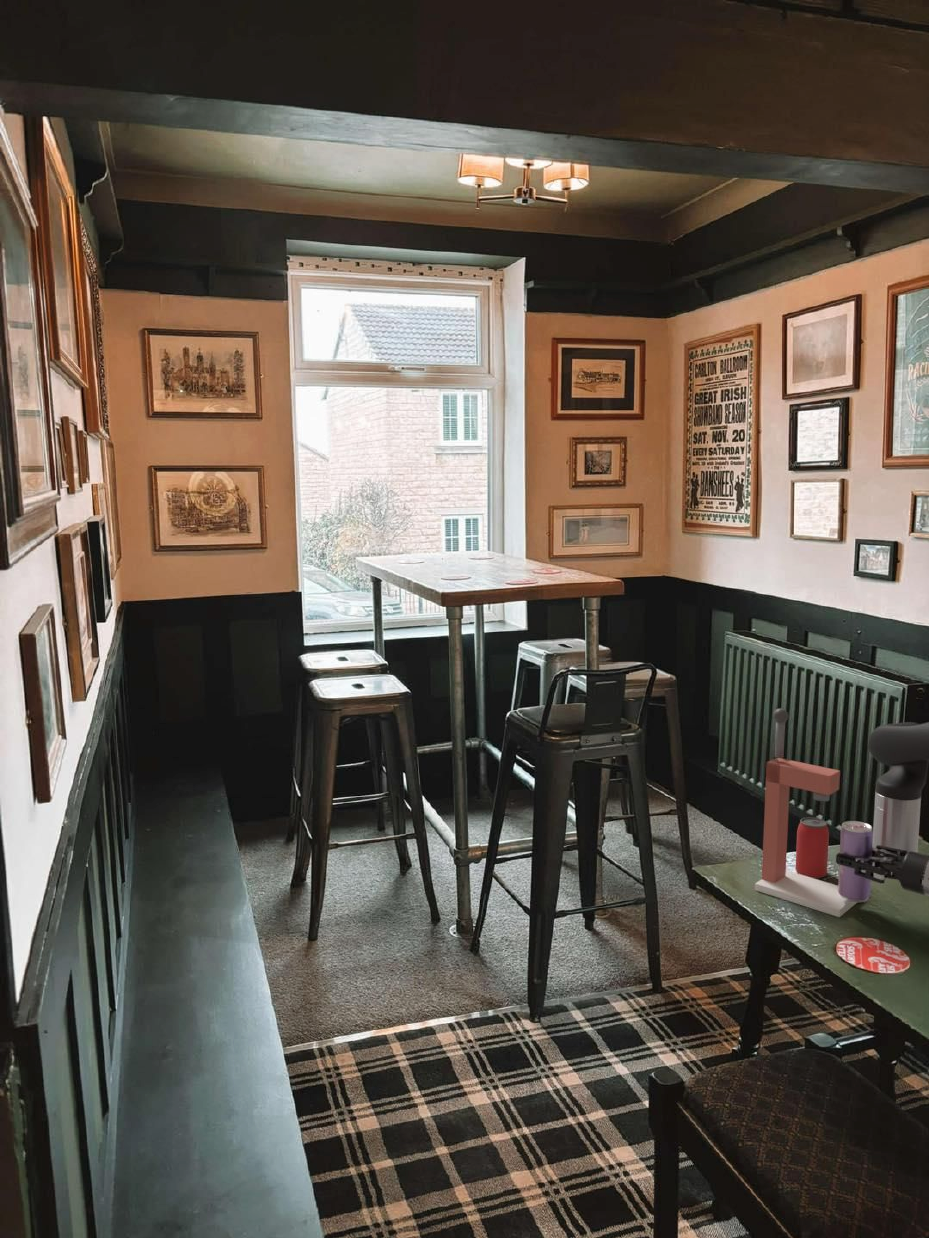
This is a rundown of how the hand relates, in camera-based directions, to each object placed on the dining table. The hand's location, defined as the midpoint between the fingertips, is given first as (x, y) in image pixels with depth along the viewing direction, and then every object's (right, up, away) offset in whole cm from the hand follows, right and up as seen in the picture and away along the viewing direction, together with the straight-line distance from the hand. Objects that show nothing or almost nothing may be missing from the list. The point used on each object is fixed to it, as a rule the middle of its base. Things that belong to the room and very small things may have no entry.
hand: (843, 853), depth 184 cm
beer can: (0, -9, +17) cm, 19 cm away
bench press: (-5, -10, +6) cm, 13 cm away
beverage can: (+2, -9, -1) cm, 9 cm away
